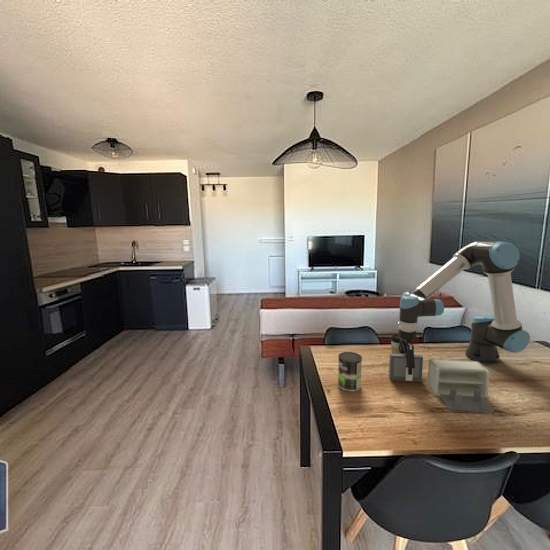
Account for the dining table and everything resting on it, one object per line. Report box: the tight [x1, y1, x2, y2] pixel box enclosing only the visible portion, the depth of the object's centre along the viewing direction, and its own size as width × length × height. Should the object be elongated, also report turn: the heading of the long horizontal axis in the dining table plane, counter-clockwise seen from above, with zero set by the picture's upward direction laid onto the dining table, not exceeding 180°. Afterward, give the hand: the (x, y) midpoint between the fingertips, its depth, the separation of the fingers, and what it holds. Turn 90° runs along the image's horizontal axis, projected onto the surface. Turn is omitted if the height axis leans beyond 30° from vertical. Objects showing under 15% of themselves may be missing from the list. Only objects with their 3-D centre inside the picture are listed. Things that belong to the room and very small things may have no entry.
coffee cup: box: [389, 333, 406, 354], centre depth 157 cm, size 10×10×15 cm
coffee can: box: [337, 351, 363, 392], centre depth 137 cm, size 10×10×14 cm
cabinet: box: [427, 358, 495, 414], centre depth 126 cm, size 20×20×12 cm
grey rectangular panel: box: [388, 353, 424, 382], centre depth 142 cm, size 14×3×12 cm, turn 80°
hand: (405, 373), depth 142 cm, fingers open, 13 cm apart
